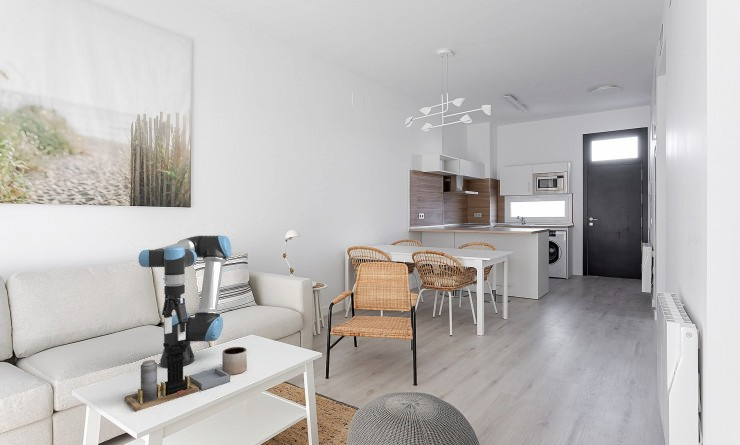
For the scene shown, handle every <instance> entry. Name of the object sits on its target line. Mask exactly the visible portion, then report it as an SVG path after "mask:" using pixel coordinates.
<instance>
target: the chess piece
mask: <svg viewBox="0 0 740 445" xmlns="http://www.w3.org/2000/svg"><path fill="white" fill-rule="evenodd" d="M164 347H165V352H166V353H167V357H166V359H167V368H166V369H167V370H166V371H167V372H166V373H167V381H164V383H165V387H166V396H168V395H171V394H174V393H177V392H178V391H181V390H183V391H184V390H187V386H186V382H185V381H184V380H183V379H184V366H183V360H184V357H183V352H186V347H187V344H186V343H183V340H180V341H178V344H173V345H169V343H168V342H167V343H164V342H163V348H164Z"/></svg>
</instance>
